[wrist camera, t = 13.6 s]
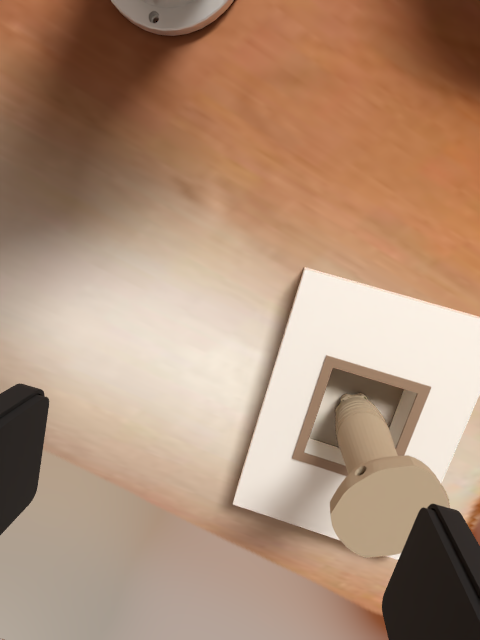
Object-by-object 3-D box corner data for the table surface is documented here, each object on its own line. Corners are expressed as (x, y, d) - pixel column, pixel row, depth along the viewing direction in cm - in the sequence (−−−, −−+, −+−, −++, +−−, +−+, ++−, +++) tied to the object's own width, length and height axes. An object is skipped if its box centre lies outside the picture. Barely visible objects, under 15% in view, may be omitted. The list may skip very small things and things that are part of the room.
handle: (400, 409, 37) (466, 518, 22) (339, 446, 38) (365, 572, 24) (367, 366, 36) (414, 448, 22) (308, 405, 38) (314, 507, 23)
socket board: (304, 266, 36) (305, 269, 32) (490, 320, 34) (509, 327, 31) (237, 485, 40) (232, 505, 37) (398, 538, 39) (407, 564, 36)
